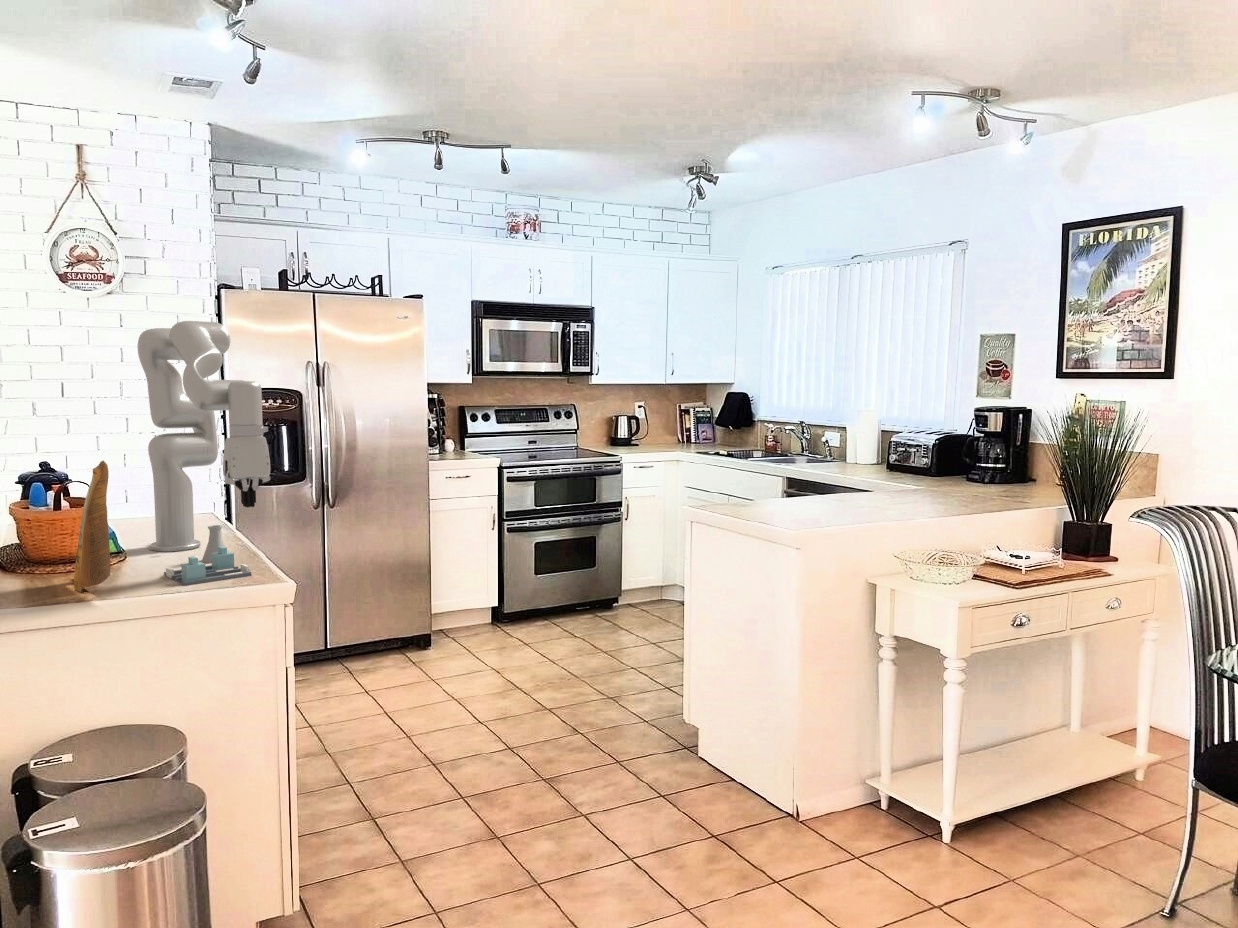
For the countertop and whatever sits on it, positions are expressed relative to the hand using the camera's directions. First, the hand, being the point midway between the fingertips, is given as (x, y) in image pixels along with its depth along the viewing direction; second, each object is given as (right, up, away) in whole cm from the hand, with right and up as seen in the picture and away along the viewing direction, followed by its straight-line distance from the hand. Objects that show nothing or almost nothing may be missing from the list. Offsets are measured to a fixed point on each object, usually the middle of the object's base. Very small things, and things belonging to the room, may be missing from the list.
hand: (248, 506), depth 219 cm
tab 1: (-6, -16, -15) cm, 23 cm away
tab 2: (-5, -15, -3) cm, 16 cm away
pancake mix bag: (-29, -18, -15) cm, 37 cm away
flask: (-11, -15, +8) cm, 21 cm away
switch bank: (-6, -17, -9) cm, 20 cm away
